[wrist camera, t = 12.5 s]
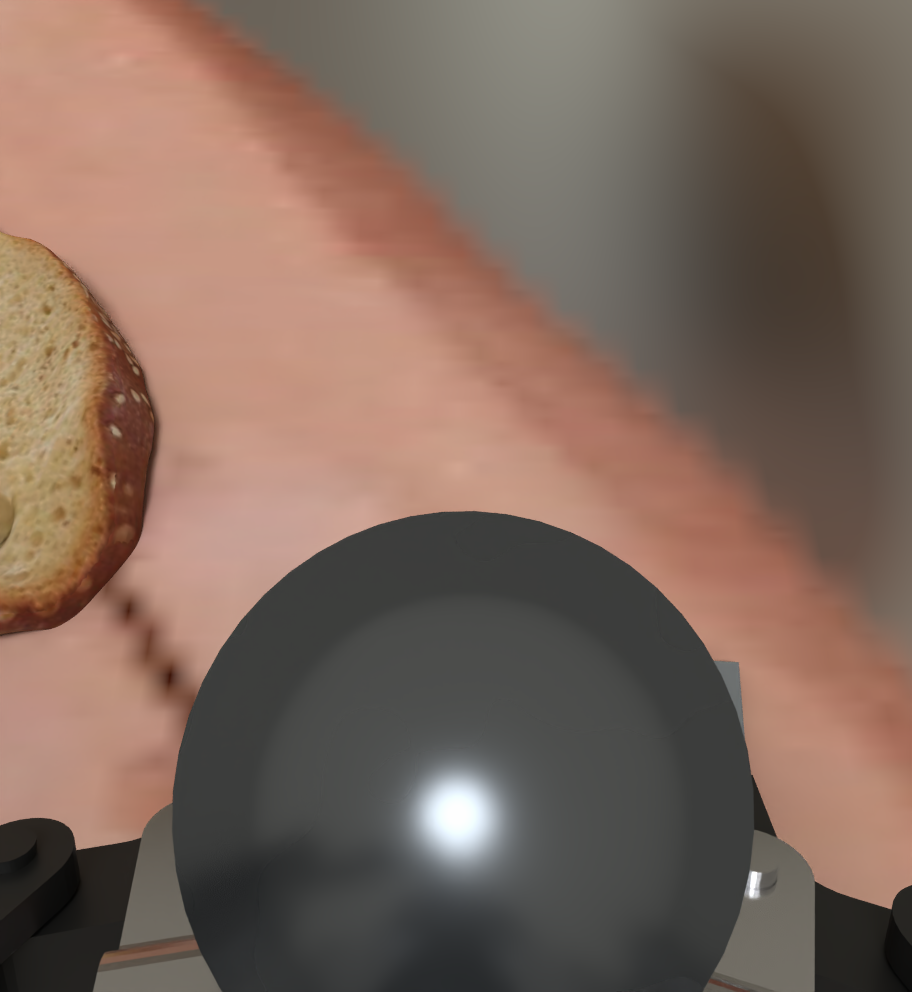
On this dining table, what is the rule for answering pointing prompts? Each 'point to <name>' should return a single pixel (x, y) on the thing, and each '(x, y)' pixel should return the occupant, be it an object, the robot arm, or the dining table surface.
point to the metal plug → (463, 774)
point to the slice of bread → (63, 441)
